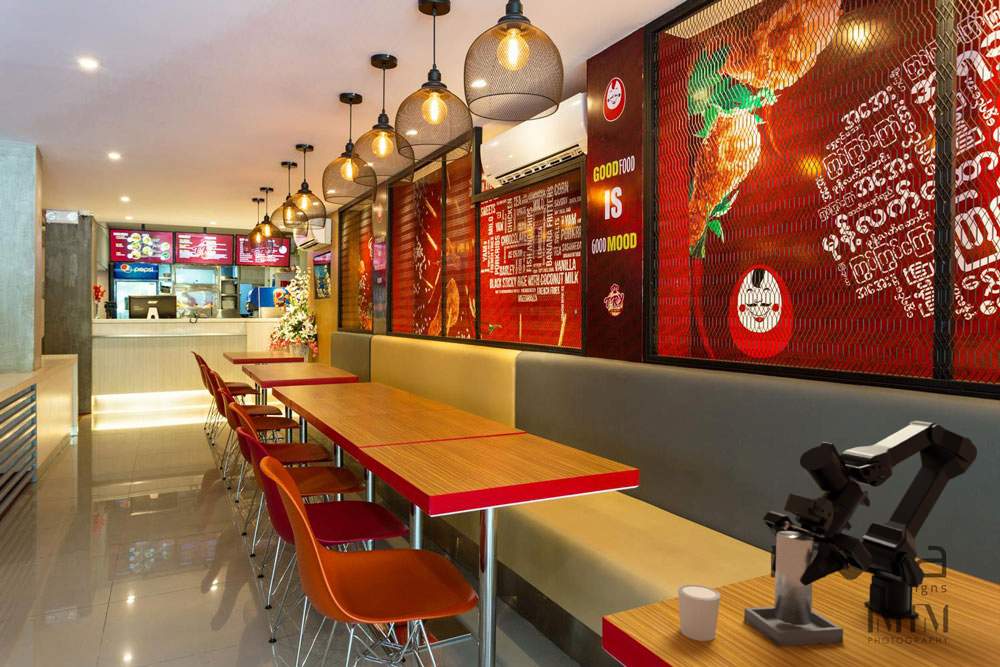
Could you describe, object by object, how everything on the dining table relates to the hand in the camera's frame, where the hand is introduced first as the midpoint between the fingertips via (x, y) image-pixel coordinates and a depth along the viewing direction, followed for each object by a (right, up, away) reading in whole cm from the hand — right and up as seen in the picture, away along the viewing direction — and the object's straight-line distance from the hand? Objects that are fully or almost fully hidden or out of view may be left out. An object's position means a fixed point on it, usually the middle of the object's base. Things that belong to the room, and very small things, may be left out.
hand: (788, 577), depth 110 cm
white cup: (-16, -9, -2) cm, 18 cm away
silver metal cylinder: (+1, -7, 0) cm, 7 cm away
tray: (+1, -9, 0) cm, 9 cm away
